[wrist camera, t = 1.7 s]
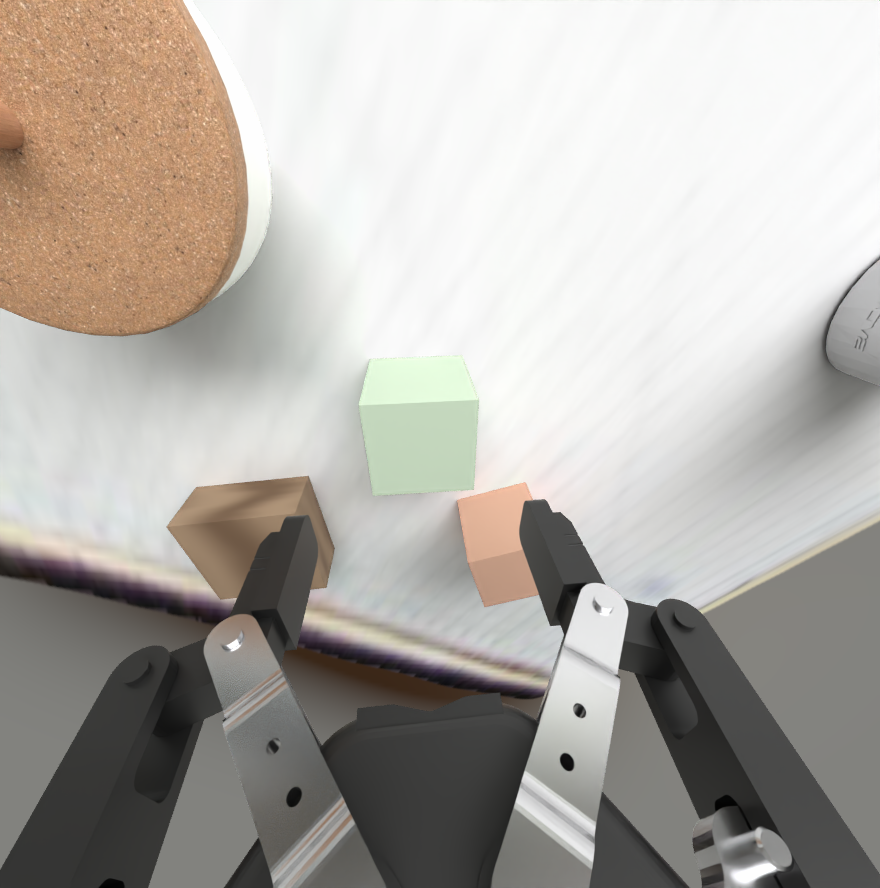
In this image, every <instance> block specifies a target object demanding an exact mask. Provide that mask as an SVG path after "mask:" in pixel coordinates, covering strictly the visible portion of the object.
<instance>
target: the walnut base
mask: <svg viewBox="0 0 880 888" xmlns="http://www.w3.org/2000/svg"><path fill="white" fill-rule="evenodd" d="M300 515H309V517H310V519H311V523H312V526H313V529H314V533H315V536H316V539H317V543H318V559H317V563H316V568H315V572H314V576H313V580H312V585H311V589H320V588H326V587H327V583H328V578H329V573H330V568H331V564H332V559H333V554H334V549H335V548H334V545H333V543H332V540H331V537H330V534H329V532H328V529H327V526H326V523H325V521H324V518H323V515H322V512H321V509H320V507H319V504H318V501H317V498H316V496H315V493H314V490H313V487H312V485H311V482H310V479H309V476H304V477H294V478H284V479H274V480H264V481H254V482H244V483H234V484H224V485H214V486H204V487H196V488H195V489H194V491H193V492H192V493H191V495H190V496H189V497H188V499H187V500H186V501H185V503H184V504H183V506H182V507H181V508H180V510H179V511H178V512H177V514H176V515H175V516H174V518H173V519H172V520H171V522H170V523H169V524H168V526H167V528H168V530H169V531H170V532H171V534H172V535H173V536H174V538H175V539H176V540H177V542H178V543H179V544H180V546H181V547H182V549H183V550H184V551H185V553H186V554H187V555H188V557H189V558H190V559H191V561H192V562H193V563H194V565H195V566H196V567H197V569H198V570H199V571H200V573H201V574H202V575H203V577H204V578H205V580H206V581H207V582H208V584H209V585H210V586H211V588H212V589H213V590H214V592H215V593H216V594H217V596H218V597H219V598H220V600H221V599H230V598H238V595H239V593H240V591H241V588H242V586H243V583H244V581H245V579H246V576H247V574H248V571H250V567H251V564H252V562H253V560H254V557H255V555H256V552H257V550H258V548H259V545H260V544H261V543H262V541H263V540H264V539H265V538H266V537H267V536H268V535H269V534H270V533H271V532H280V529H281V526H282V524H283V521H284V519H285V517H287V516H300ZM311 589H310V590H311Z"/></svg>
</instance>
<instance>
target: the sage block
mask: <svg viewBox="0 0 880 888" xmlns="http://www.w3.org/2000/svg"><path fill="white" fill-rule="evenodd" d="M478 406H479V399H478V396H477V394H476V391H475V388H474V386H473V383H472V380H471V378H470V375H469V372H468V370H467V367H466V364H465V362H464V359H463V356H462V355H459V356H433V357H407V358H382V359H370V362H369V366H368V370H367V374H366V378H365V382H364V386H363V390H362V394H361V398H360V402H359V411H360V418H361V424H362V430H363V436H364V443H365V449H366V455H367V461H368V468H369V474H370V480H371V486H372V492H373V496H380V495H397V494H413V493H430V492H446V491H462V490H474V477H475V460H476V442H477V424H478Z"/></svg>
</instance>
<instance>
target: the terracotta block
mask: <svg viewBox="0 0 880 888" xmlns="http://www.w3.org/2000/svg"><path fill="white" fill-rule="evenodd" d="M528 500H533V499H532V497H531V494H530V492H529V490H528V487H527V485H526V483H525V482H524V483H520V484H516V485H513V486H509V487H505V488H501V489H497V490H493V491H490V492H486V493H482V494H478V495H474V496H470V497H467V498H463V499H459V500H457V502H458V508H459V514H460V519H461V525H462V531H463V537H464V543H465V549H466V555H467V560H468V564H469V567H470V570H471V572H472V575H473V578H474V580H475V583H476V586H477V588H478V591H479V594H480V596H481V599H482V602H483V604H484V607H488V606H492V605H496V604H501V603H505V602H509V601H514V600H518V599H523V598H527V597H531V596H536V595H539V593H538V590H537V587H536V585H535V582H534V579H533V576H532V573H531V571H530V568H529V565H528V562H527V559H526V557H525V554H524V551H523V548H522V546H521V542H520V537H519V527H520V521H521V516H522V510H523V504H524V502H525V501H528Z"/></svg>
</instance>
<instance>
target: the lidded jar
mask: <svg viewBox="0 0 880 888" xmlns="http://www.w3.org/2000/svg"><path fill="white" fill-rule="evenodd" d="M271 205H272V175H271V169H270V163H269V156H268V150H267V146H266V143H265V139H264V136H263V132H262V129H261V125H260V122H259V119H258V117H257V114H256V112H255V109H254V107H253V105H252V102H251V100H250V97H249V95H248V92H247V90H246V88H245V86H244V84H243V82H242V80H241V78H240V76H239V74H238V72H237V71H236V69H235V67H234V65H233V63H232V61H231V59H230V58H229V56H228V54H227V52H226V50H225V48H224V47H223V45H222V44H221V42H220V41H219V39H218V38H217V36H216V35H215V34H214V32H213V31H212V29H211V28H210V26H209V25H208V23H207V22H206V20H205V19H204V17H203V16H202V14H201V13H200V12H199V10H198V9H197V7H196V6H195V5H194V3H193V2H192V0H0V308H3V309H5V310H7V311H10V312H12V313H15V314H17V315H20V316H22V317H24V318H27V319H29V320H32V321H35V322H39V323H42V324H45V325H49V326H52V327H56V328H59V329H63V330H67V331H73V332H78V333H84V334H90V335H101V336H128V335H137V334H146V333H149V332H153V331H156V330H159V329H163V328H166V327H169V326H171V325H174V324H175V323H177V322H179V321H181V320H183V319H185V318H187V317H189V316H190V315H192V314H194V313H196V312H198V311H199V310H200V309H201V308H203V307H204V306H205V305H206V304H207V303H208V302H210V301H212V300H213V299H215V298H217V297H218V296H220V295H222V294H223V293H224V292H225V291H226V290H228V289H229V288H230V287H231V286H232V285H233V284H235V283H236V282H237V281H238V280H239V279H240V278H241V277H242V276H243V274H244V273H245V272H246V271H247V269H248V268H249V267H250V265H251V264H252V263H253V261H254V259H255V257H256V255H257V253H258V251H259V249H260V247H261V245H262V243H263V241H264V239H265V235H266V232H267V228H268V225H269V221H270V214H271Z"/></svg>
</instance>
